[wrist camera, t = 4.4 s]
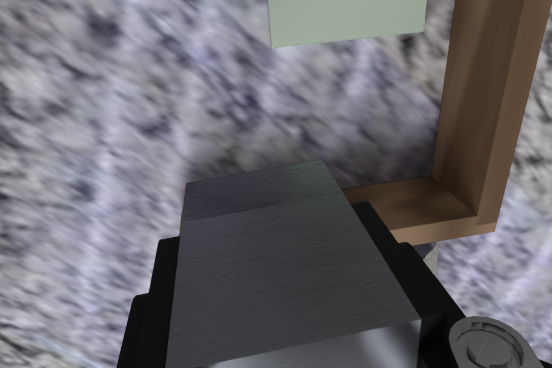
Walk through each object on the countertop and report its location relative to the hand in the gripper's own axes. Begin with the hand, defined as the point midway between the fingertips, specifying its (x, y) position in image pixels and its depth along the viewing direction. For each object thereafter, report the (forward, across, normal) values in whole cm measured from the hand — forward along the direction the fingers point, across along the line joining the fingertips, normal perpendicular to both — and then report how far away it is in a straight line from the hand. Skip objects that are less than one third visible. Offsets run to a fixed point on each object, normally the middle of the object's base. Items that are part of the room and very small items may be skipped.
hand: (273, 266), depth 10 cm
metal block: (+2, 0, +1) cm, 2 cm away
